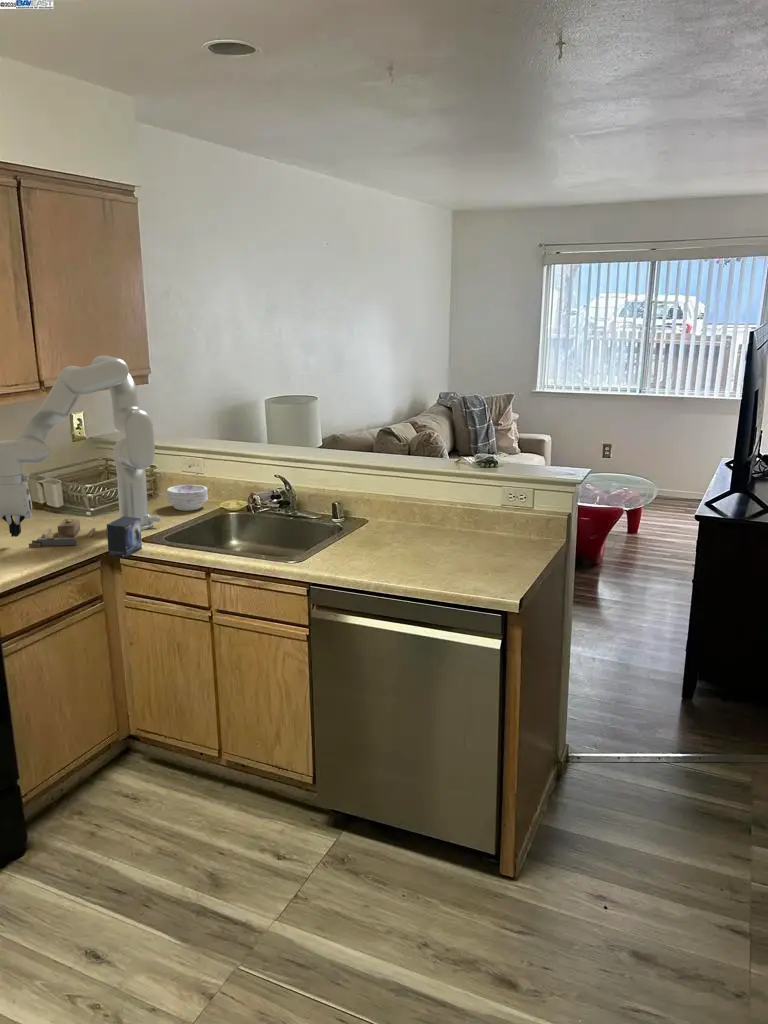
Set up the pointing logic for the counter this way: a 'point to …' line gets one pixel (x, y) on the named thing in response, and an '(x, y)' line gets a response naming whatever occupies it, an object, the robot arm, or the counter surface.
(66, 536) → the cap block
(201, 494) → the paper bowls
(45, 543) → the bar
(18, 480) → the robot arm
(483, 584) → the counter surface
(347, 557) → the counter surface
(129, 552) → the small box
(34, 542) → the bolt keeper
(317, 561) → the counter surface
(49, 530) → the bolt guide rails
